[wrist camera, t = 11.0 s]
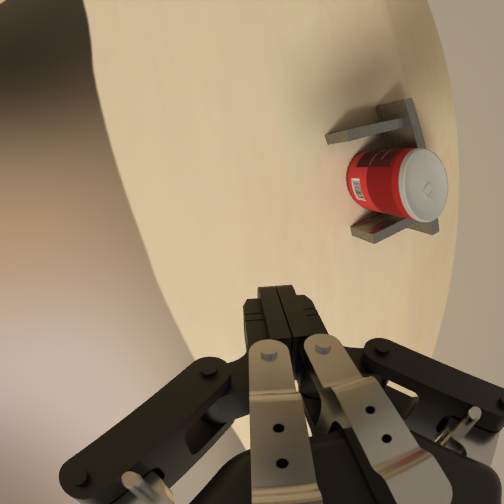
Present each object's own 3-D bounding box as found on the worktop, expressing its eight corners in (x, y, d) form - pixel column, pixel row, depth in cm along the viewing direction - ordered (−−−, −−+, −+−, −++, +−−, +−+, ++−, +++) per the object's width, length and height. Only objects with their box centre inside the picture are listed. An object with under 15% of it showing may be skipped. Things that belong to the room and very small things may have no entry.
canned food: (376, 219, 36) (434, 235, 26) (334, 190, 34) (391, 197, 23) (396, 172, 35) (455, 176, 25) (357, 140, 33) (417, 132, 22)
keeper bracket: (355, 251, 37) (382, 263, 31) (318, 117, 31) (344, 108, 25) (411, 223, 38) (439, 231, 32) (383, 105, 32) (411, 98, 27)
